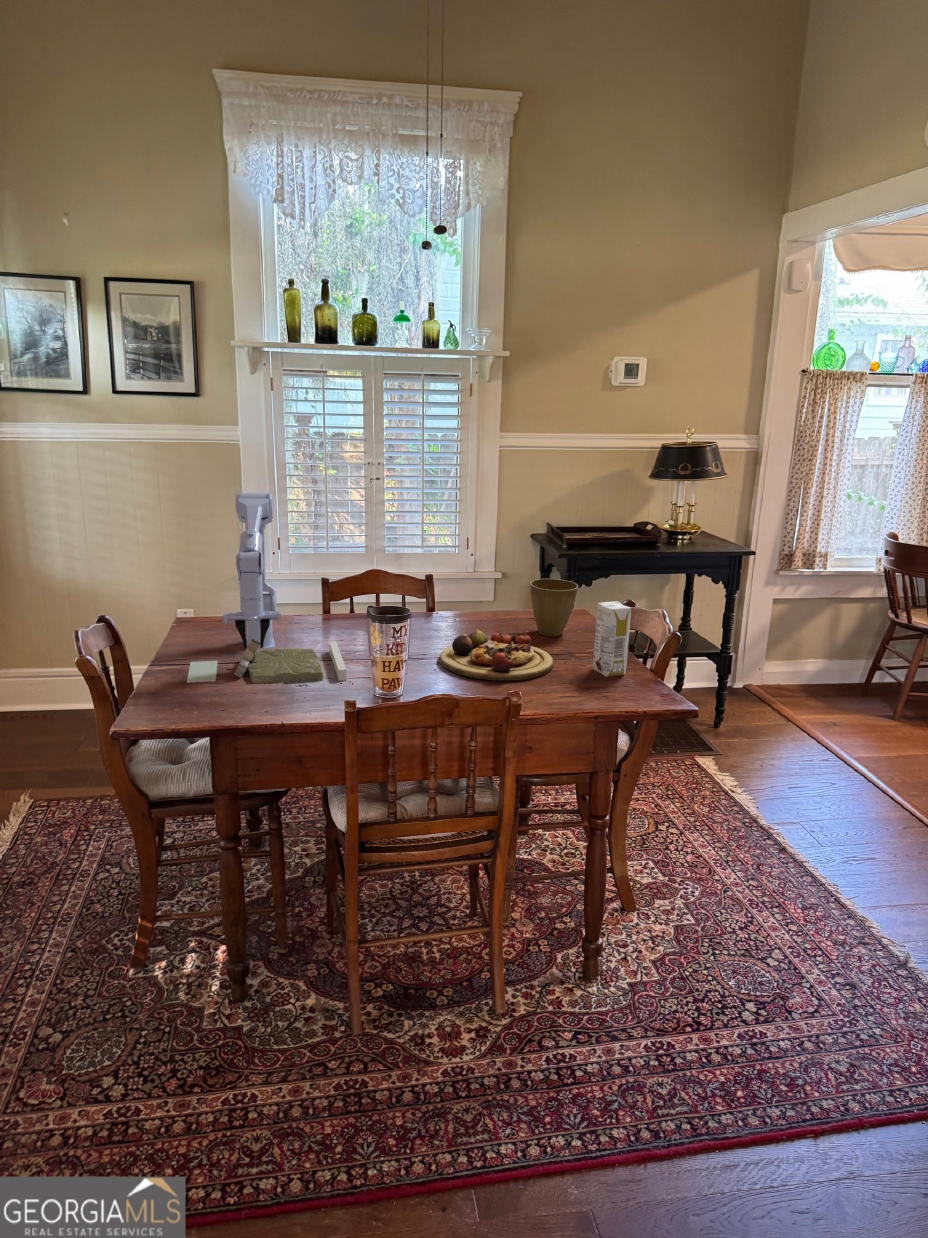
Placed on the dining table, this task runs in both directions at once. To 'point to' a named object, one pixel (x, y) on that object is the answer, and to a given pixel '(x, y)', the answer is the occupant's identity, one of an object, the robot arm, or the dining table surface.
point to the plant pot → (552, 604)
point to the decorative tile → (285, 666)
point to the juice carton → (611, 638)
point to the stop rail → (337, 661)
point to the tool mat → (202, 671)
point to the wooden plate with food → (496, 657)
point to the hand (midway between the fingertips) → (253, 647)
